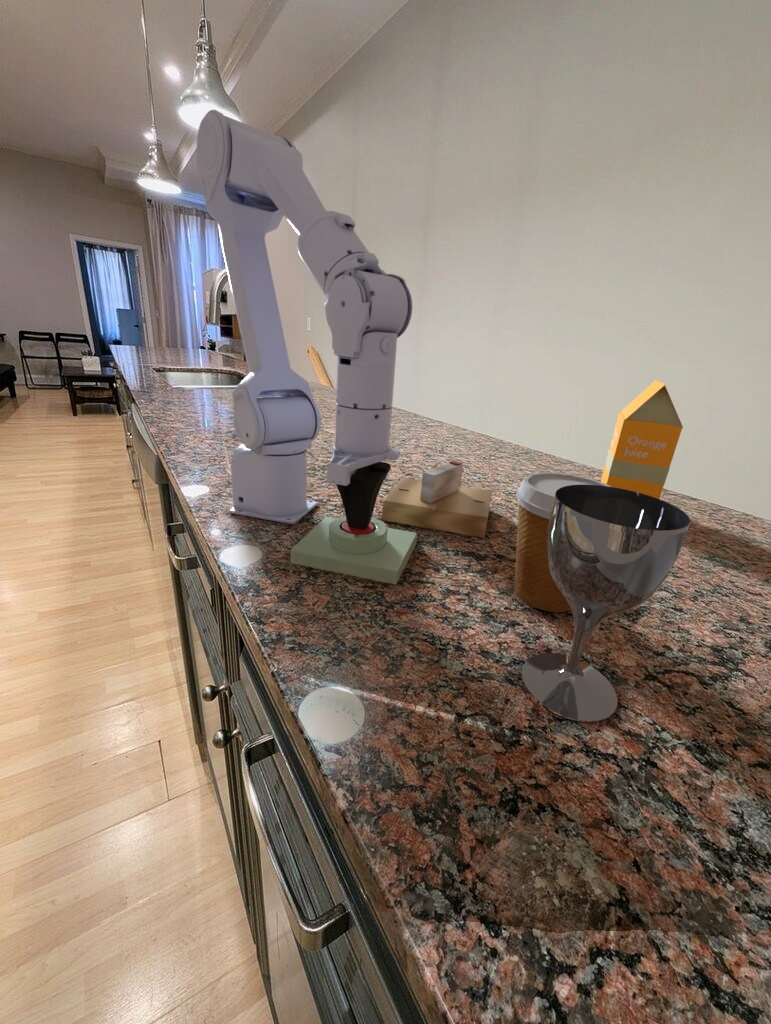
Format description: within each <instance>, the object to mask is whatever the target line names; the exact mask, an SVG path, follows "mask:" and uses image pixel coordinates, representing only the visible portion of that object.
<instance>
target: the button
mask: <svg viewBox="0 0 771 1024" xmlns="http://www.w3.org/2000/svg"><path fill="white" fill-rule="evenodd" d="M342 530H343V531H344V532H346V533H350V534H355V535H365V534H369V533H372V532H374V525H373V524H372V523H369V526H368V527H367V528H366V529H365V530H362V529H357V528H351V527H348V524H347V522H345V523H343V525H342Z"/></svg>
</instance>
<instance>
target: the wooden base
mask: <svg viewBox="0 0 771 1024" xmlns="http://www.w3.org/2000/svg"><path fill="white" fill-rule="evenodd" d="M421 485H422V479H421V480H420V479H414V478H408V477H407V478H406V477H401V478H400V480H399V481H398V482H396V484H395V486H394V487H393V488H392V489H391V490H390V492H389V493H388V494H387V495H386V496H385V498H384V499H383V500H382V512H381V514H382V515H381V521H386V522H390V523H391V522H392V523H398V524H402V525H409V526H415V527H421V528H425V529H426V528H427V529H430V530H431V529H432V530H437V531H443V532H450V533H453V534H454V533H455V534H460V535H466V536H472V537H478V538H485V536H486V531H487V524H488V519H489V512H490V507H491V501H492V495H493V491H492V490H488V489H480V488H475V487H468V486H461V485H460V490H459V491H457V492H455V493H452V494H450V495H448V496H446V497H444V498H441V499H439V500H437V501H435V502H433V503H428V502H425V501H422V500H420V495H421Z"/></svg>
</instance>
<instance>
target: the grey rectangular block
mask: <svg viewBox="0 0 771 1024" xmlns="http://www.w3.org/2000/svg"><path fill="white" fill-rule="evenodd" d="M463 469H464V464H463V462H460V461H456V460H451V461H449V463H446V464H442V465H440V466H436V467H434V468H432V469H429V470H428V469H427V470H426V471H423V472H422V475H421V476H422V477H421V481H422V485H421V495H420V500H422V501H425V502H428V503H433V502H435V501H437V500H439V499H441V498H444V497H446V496H448V495H450V494H452V493H455V492H457V491H459V490H460V486H461V485H462V477H463Z"/></svg>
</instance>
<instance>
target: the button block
mask: <svg viewBox="0 0 771 1024" xmlns="http://www.w3.org/2000/svg"><path fill="white" fill-rule="evenodd" d="M345 522H347V520H346V515H343V516H340V517H337V518H335V517H330V516H325V517H324V518H323V519H322V520H321V521H320V522H318V524H316V525H315V526H313V528H312V529H311V530H310V531H309V532H308V533H307V534H306V535H304V536H303V538H301V539H300V540H299V541H298V542H297V543H296V544H295V545H294V546H292V548H291V549H290V550H289V553H290V555H289V556H290V557H289V559H290V560H289V561H290V564H294V565H298V566H303V567H308V568H312V569H313V568H314V569H318V570H322V571H328V572H333V573H338V574H343V575H348V576H352V577H356V578H357V577H358V578H362V579H367V580H372V581H377V582H382V583H387V584H391V585H397V584H398V583H399V580H400V578H401V576H402V574H403V572H404V570H405V568H406V567H407V564H408V562H409V560H410V557H411V555H412V553H413V551H414V549H415V547H416V546H417V538H418V532H415V531H410V530H404V529H403V530H402V529H398V528H392V527H387V525H386V524H385V522H384V521H383V520H380V519H378V518H376V517H373V516H372V517H371V520H370V523H372V524H373V525H374V532H372V533H369V534H365V535H355V534H350V533H346V532H344V531H343V530H342V525H343V523H345Z"/></svg>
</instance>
